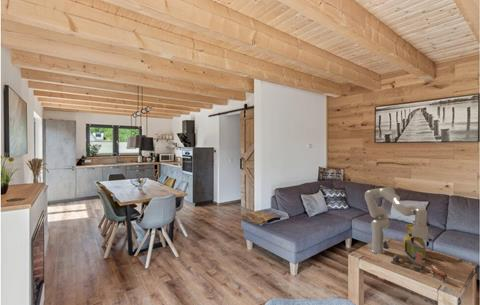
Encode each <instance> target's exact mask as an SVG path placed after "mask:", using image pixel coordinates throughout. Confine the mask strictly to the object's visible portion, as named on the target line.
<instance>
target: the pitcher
mask: <svg viewBox="0 0 480 305" xmlns="http://www.w3.org/2000/svg"><path fill="white" fill-rule="evenodd" d="M413 225H414V224H410V223H409V224H405V228H406V235H405V236H404V237H403V241H402V243H403V244H402V245H403V247H404V248H405V240H411V237H410V236H409V234H408V231H411V230H413ZM410 234H411V235H412V232H410ZM414 241H417V242H419V243H420V244H421V245H423V246H424V247H425V248H426V243H425V241H424V239H422V238H418V237H414Z"/></svg>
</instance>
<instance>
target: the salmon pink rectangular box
mask: <svg viewBox="0 0 480 305" xmlns="http://www.w3.org/2000/svg"><path fill="white" fill-rule="evenodd" d="M422 261H423V253H420V252H416V260H415V262H414V264H413V268H415V269H418V270H422V268H423V265H424V263H422Z"/></svg>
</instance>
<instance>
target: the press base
mask: <svg viewBox="0 0 480 305" xmlns="http://www.w3.org/2000/svg"><path fill="white" fill-rule="evenodd" d="M399 259H402V260H403V263H402V264H401V263H399ZM390 263H391V265H394V266H399V267H401V268H404V269H407V270H411V271H413V272H416V273H420V274H423V273H424V272H425V269H426V265H424V264H423V268H422V270H418V269H415V268H413V264H414V262H412V261H411V260H407V259H403V258H401V257H399V254H397V253H395V254H394V255H393V257H392V260H391V261H390Z"/></svg>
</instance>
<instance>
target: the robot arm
mask: <svg viewBox="0 0 480 305" xmlns="http://www.w3.org/2000/svg"><path fill="white" fill-rule="evenodd" d="M378 198H383V199H385V200H387V201H388V202H390V203H391V204H392V207H394V209H395V210H396V211H397V212H399V213H400V214H401V215H403V216H406V217H410V216H414V220H412V223H413V224H412V225H413V230H411V231H408V234H409V236H410V237H411V241H412V243H413V242H414V237H418V238H422V239H423V240H425V241H426V243H425V247H428V246H430V242H432V240H434V238H435V237H434V236H433V235H431V234H430V233H429V228H428V226H427V220H428V211H427V209H426V208H422V207H418V206H416V205H407V206H406V205H404V204H402V203H401V202H400V200H401V197H400V196H399V195H398V194H396V191H395V189H394V188H393V187H391V186H386V187H382V188H381V187H380V188H373V189H369V190H366V191H365V193H364V200H365V202H366V205H367V209H368V212H369V215H370V216H371V217H372V218H375V219H372V221H371V224H370V225H371V232H372V234H371V244H369V243H368V244H367V247H368V248H369V250H370V252H372V253H373V254H376V255H377V254H384V253H386V251H385V249H384V238H385V236H384V235H385V234H384V231H383V229H386V228H388V227H390V224H391V223H390V219H389V216H388V212H387V211H386V209H385V208H384V207H382V206H379V205H378V204H377V201H376V200H375V199H378ZM410 232H412V235H411V234H410ZM429 237H430V238H429Z"/></svg>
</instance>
